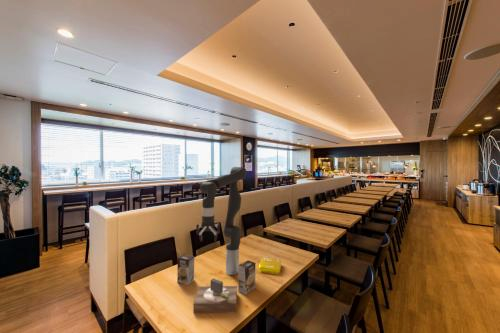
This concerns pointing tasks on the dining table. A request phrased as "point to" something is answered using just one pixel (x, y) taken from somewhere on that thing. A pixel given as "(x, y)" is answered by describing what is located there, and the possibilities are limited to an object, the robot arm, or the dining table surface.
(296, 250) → the dining table surface
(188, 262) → the coffee box
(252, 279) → the coffee box
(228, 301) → the tuner box
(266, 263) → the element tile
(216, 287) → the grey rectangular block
